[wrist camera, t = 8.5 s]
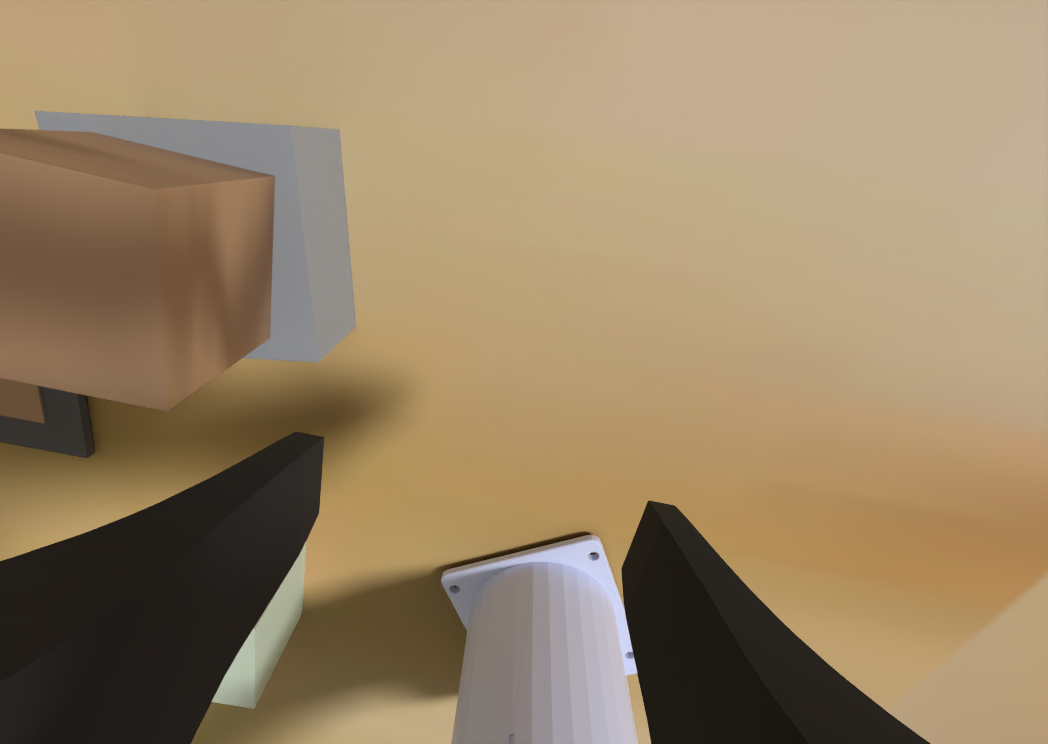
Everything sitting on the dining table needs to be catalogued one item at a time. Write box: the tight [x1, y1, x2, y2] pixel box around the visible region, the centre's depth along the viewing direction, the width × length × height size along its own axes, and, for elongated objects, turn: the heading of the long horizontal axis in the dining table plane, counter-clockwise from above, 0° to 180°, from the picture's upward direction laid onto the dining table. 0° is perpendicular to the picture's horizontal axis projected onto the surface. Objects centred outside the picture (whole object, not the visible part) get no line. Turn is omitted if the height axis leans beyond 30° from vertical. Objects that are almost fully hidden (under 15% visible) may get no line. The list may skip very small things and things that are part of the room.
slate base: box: [34, 111, 356, 362], centre depth 17 cm, size 7×7×4 cm
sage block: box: [212, 542, 306, 709], centre depth 23 cm, size 5×5×5 cm
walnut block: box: [0, 129, 275, 412], centre depth 13 cm, size 5×5×5 cm
